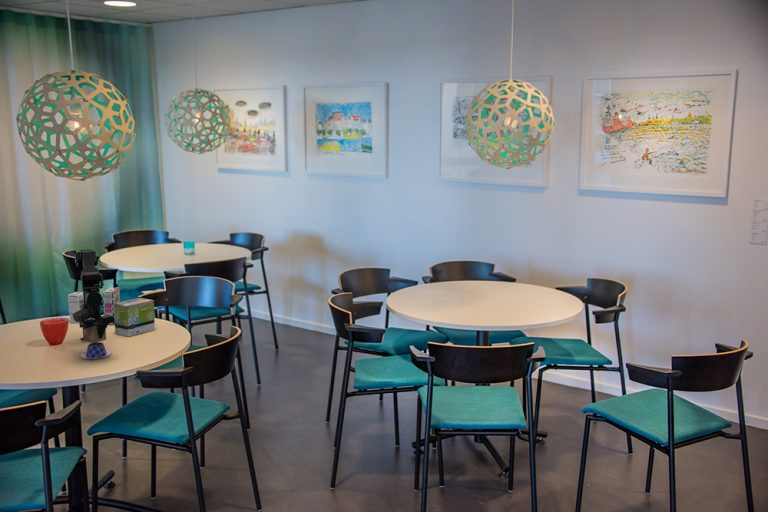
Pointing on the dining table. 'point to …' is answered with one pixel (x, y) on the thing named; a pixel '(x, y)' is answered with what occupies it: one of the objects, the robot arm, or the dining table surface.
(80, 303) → the syrup box
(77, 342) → the dining table surface
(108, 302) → the candy bar box
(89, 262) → the robot arm
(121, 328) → the tea box
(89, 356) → the pudding
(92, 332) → the walnut block
